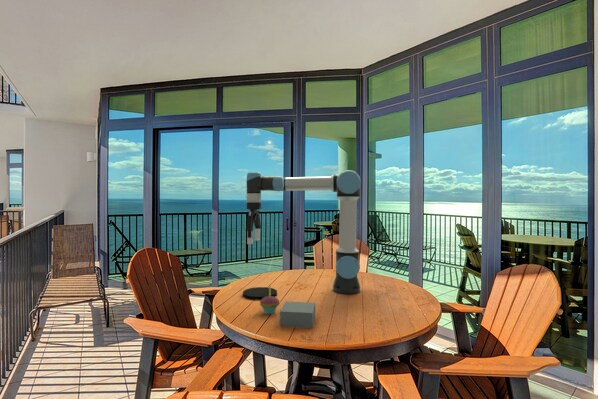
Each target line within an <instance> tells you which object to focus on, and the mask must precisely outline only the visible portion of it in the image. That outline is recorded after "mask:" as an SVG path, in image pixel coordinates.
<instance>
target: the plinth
mask: <svg viewBox="0 0 598 399" xmlns="http://www.w3.org/2000/svg"><path fill="white" fill-rule="evenodd" d="M315 320H316V302H306V301H286V300H285V302H284V303H283V305H282V307H281V309H280V311H279V327H282V328H299V329H304V328H305V329H313V327H314V324H315Z"/></svg>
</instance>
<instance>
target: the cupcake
mask: <svg viewBox="0 0 598 399" xmlns="http://www.w3.org/2000/svg"><path fill="white" fill-rule="evenodd" d="M268 288H269V296H267V297H264V298H263V299H261V300H259V301H260V302H259V305H260V306H261V308H262V310H263V313H264V314H266V315H273V314H275V313H276V309H277V306H279V305H280V300H279V299H278V298H277V296H276V297H273V296H271V288H272V287H271V285H269V286H268Z"/></svg>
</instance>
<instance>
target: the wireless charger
mask: <svg viewBox="0 0 598 399" xmlns="http://www.w3.org/2000/svg"><path fill="white" fill-rule="evenodd" d="M277 295H278V290H277V289H275V288H273V287H271V296H273V297H275V296H276V297H277ZM267 296H269V286H268V287H265V286H262V287H261V286H257V287H250V288H247V289H244V290H243V291H242V297H243V298H245V299H247V300H251V301H252V300H253V301H260V300H261V299H263V298H264V297H267Z"/></svg>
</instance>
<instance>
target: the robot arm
mask: <svg viewBox="0 0 598 399" xmlns="http://www.w3.org/2000/svg"><path fill="white" fill-rule="evenodd" d="M245 181H246V195H245V198H246V210H249V211H247V219H246V224H245V225H246V226H245V232H246V234H247V235H246V236H247V237H246V240H247V241H246V244H247V245H253V244H254V242H253V241H255V242H256V241H257V242H259V241H261V238H260V237H261V236H260V235H261V233H260V232H261V231H260V230H261V229H262V224H261V217H260V210H261V209H262V203H261V201H262V191H263V192H264V191H267V192H268V191H273V192H286V191H287V192H293V191H294V192H295V191H296V192H297V191H298V192H299V191H300V192H301V191H303V192H304V191H331V192H332V193H336V198H337V199H338V200H339V220H338V221H339V226H338V227H339V230H338V231H339V236H338V238H339V239H338V243H339V244H338V247H337V249H336V250H335V277H334V281H333V284H332V291H334V292H335V293H339V294H342V295H343V294H344V295H345V294H346V295H347V294H349V295H350V294H351V295H352V294H357V293H358V294H359V293H360V292H361V284H360V280H359V278H358V274H359V273H360V269H361V264H360V250H359V249H358V247H357V216H358V215H357V214H358V213H357V209H358V208H357V205H358V204H357V203H358V202H357V201H358V200H359V199H360V198H361V185H362V180H361V177H360V175H359V174H358V173H357V172H356V171H354V170H351V169H350V170H349V169H348V170H343V171H342V172H340V173H337V174H332V175H331V176H330V175H329V176H298V177H297V176H295V177H292V176H291V177H289V176H287V177H285V176H284V177H283V176H280V175H273V176H271V175H270V176H267V175H266V176H263V175H262V173H261V172H255V171H254V172H247V174H246V180H245ZM253 228H254V231H253Z"/></svg>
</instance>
